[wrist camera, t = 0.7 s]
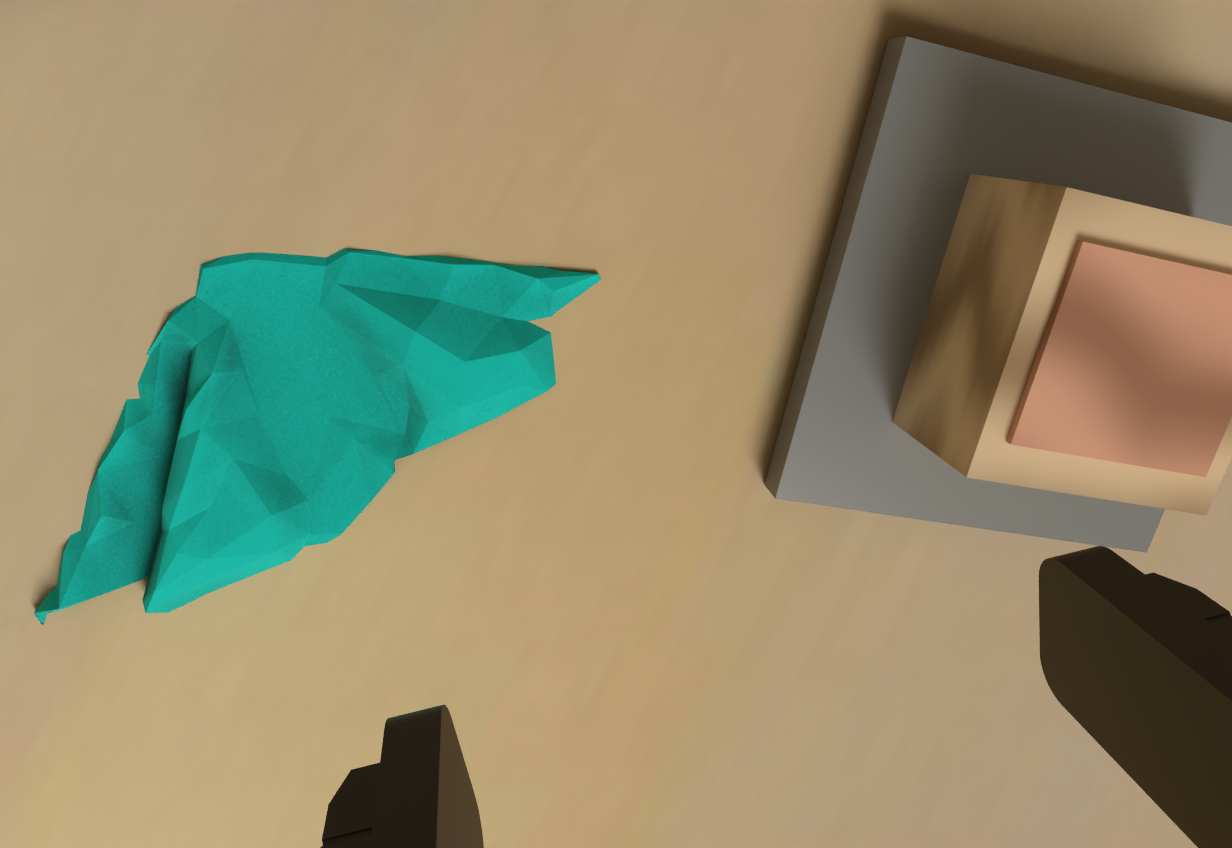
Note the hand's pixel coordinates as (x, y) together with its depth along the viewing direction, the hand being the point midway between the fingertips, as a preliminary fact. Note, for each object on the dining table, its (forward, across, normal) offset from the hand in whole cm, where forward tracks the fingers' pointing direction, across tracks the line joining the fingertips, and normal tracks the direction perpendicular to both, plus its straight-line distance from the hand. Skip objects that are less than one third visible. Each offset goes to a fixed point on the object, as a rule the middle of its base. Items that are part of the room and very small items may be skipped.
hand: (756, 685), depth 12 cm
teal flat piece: (+26, +11, +3) cm, 28 cm away
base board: (+25, -18, +5) cm, 32 cm away
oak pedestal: (+24, -18, +5) cm, 31 cm away
